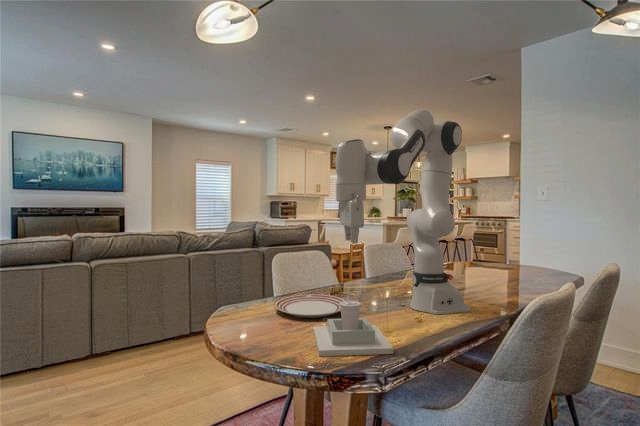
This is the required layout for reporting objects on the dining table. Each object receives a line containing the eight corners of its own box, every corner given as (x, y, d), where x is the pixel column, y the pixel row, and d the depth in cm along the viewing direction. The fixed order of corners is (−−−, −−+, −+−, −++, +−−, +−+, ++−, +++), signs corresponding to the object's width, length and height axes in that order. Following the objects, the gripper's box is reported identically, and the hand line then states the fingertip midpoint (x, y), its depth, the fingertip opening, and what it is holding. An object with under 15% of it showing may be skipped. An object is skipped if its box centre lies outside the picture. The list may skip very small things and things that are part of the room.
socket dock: (375, 329, 120) (375, 314, 120) (393, 353, 100) (393, 335, 100) (313, 331, 119) (313, 315, 118) (319, 356, 99) (319, 337, 99)
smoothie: (337, 332, 112) (337, 286, 112) (358, 332, 113) (359, 286, 113) (340, 340, 106) (341, 291, 106) (363, 339, 107) (363, 290, 106)
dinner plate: (341, 324, 126) (341, 314, 126) (264, 319, 132) (264, 310, 132) (351, 304, 153) (351, 295, 153) (287, 300, 159) (287, 292, 159)
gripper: (369, 193, 100) (369, 245, 100) (355, 195, 120) (355, 238, 121) (346, 193, 99) (346, 245, 100) (335, 195, 120) (336, 239, 120)
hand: (351, 241), depth 110 cm, fingers open, 8 cm apart
